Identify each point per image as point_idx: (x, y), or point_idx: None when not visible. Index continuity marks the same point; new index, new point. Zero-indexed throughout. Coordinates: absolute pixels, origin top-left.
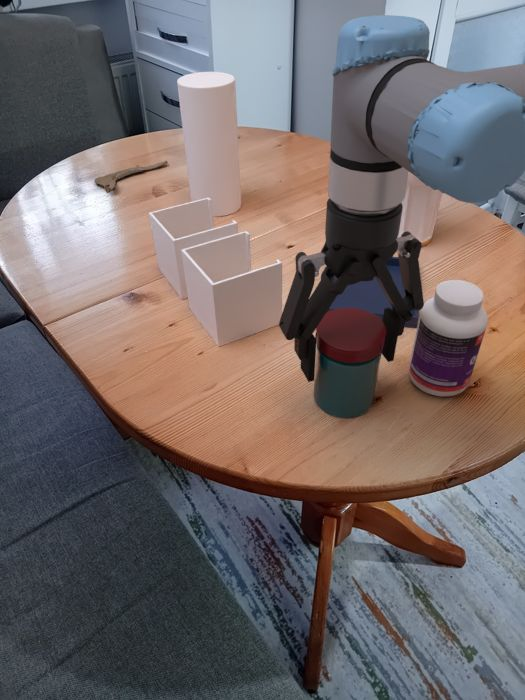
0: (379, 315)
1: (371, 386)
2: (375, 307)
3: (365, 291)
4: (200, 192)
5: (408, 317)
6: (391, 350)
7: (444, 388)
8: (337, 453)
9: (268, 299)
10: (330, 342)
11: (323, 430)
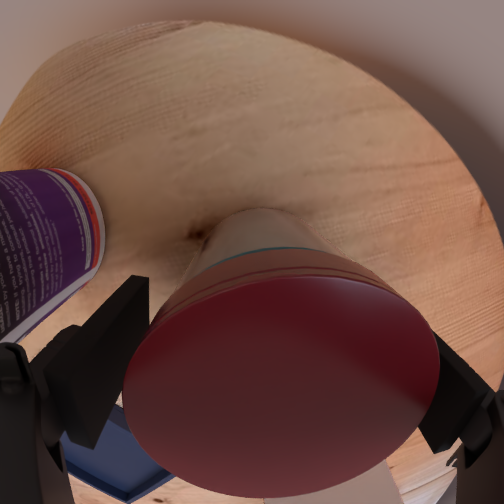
0: None
1: (239, 224)
2: None
3: (101, 447)
4: None
5: (2, 356)
6: (127, 295)
7: (63, 175)
8: (361, 144)
9: (294, 499)
10: (427, 379)
11: (354, 209)
